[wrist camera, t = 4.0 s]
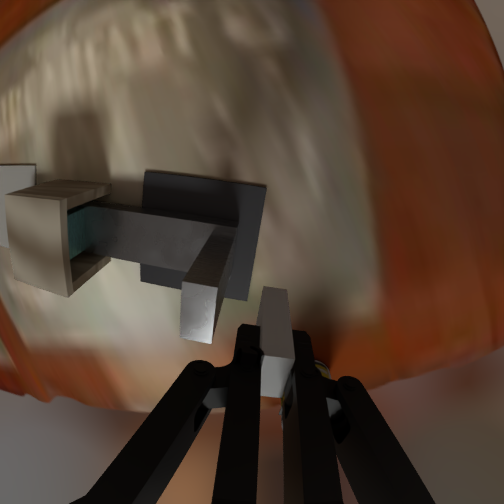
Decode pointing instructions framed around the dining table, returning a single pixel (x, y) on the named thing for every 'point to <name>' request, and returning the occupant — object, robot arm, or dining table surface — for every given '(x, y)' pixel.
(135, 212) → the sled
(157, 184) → the grey shoe shape
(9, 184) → the mat
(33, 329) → the dining table surface
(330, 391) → the robot arm
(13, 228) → the tunnel
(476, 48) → the dining table surface
